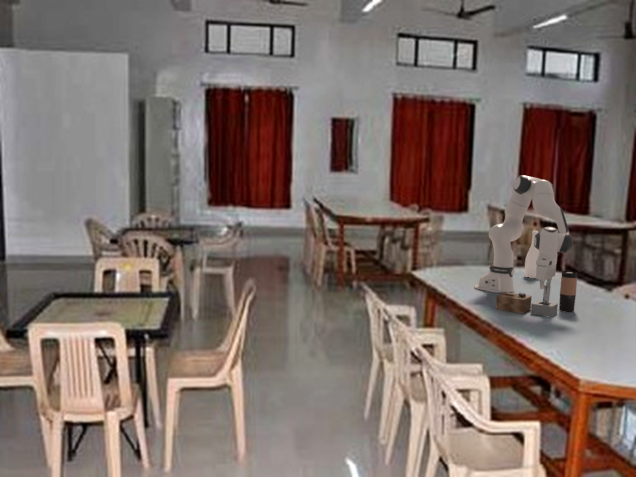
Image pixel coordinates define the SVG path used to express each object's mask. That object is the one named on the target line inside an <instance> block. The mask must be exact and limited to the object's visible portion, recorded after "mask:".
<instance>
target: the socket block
mask: <svg viewBox="0 0 636 477" xmlns="http://www.w3.org/2000/svg"><path fill="white" fill-rule="evenodd" d="M518 294H519V293H514V292H501V293H499V294H497V295H496V302H495V310H498V311H505V312H511V313H518V314H525V313H527V312H529V311H531V305H532V295H527V294H526V296H525V297H524V298H520V296H518Z"/></svg>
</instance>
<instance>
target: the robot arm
mask: <svg viewBox="0 0 636 477" xmlns="http://www.w3.org/2000/svg"><path fill="white" fill-rule="evenodd" d="M554 193H555V186H554V184H553V183H552V182H550V181H549V180H546V179H541V178H538V177H535V176H534V177H533V176H528V175H523V174H521V175H518V176H517V177H516V178H515V179H514V181H513V192H512V194H511V195H510V198H509V201H508V202H507V205H506V207H505V210H504V214H505V216H504V221H503V222H502V223H497V224H495V225H493V226H491V227H490V229H489V231H488V238H489V240H491V242H492V243H491V244H492V248H493V264H492V265H490V266H489V267H488V269H489V271H488V272H486V273H485V274H483V275H482V276H481V277H480V278H479V280H478V284H475V285H474V289H476V290H481V291H486V292H491V293H499V294H500V293H504V292H508V293H514V292H515V288H514V278H513V277H514V272H515V267H514V259H515V252H514V251H513V249H512V245H511V242H514V241H517V240H518V239H520V238H521V237H522V234H523V229H522V227H523V226H522V225H523V221H524V217H525V215H526V214H527V211H528V209H529V207H530V205H531V202H532V208H533V210H534V211H535V213H537V214H538V215H540V216H542V217H545V218H549V219H551V221H554V222H555V223H556V225H557V228H556V227H553V226H546V227H542V229H541V232H540V231H538V233H537V234H536V235H535V240H534V246H535V248H536V249H538V250H539V256H538V259H537V260H536V265H537V267H536V278H535V279H536V281H538V282H539V289H540V290H544V287H545V285H548V286H551V283H552V280H553V278H554V277H555V276H556V274H557V273H556V270H557V262H558V253H562V254H566V253H568V252H569V251H571V250H572V249H573V246H574V245H573V244H574V243H573V242H574V241H573V237H572V235H571V232H570V230H569V227H568V223H567V220H566V217H565V213H564V211H563V209H562V207H560V206H559V205H558V203H556V200H555V194H554ZM545 281H546V282H545Z"/></svg>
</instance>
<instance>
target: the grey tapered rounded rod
mask: <svg viewBox="0 0 636 477" xmlns="http://www.w3.org/2000/svg"><path fill="white" fill-rule="evenodd" d="M544 285H545V287H544V289H543V293H542V294H543V295H542V296H543V297H542V301H543V303H542V304H544V305H549V302H550V295H551V285H550V286H548V285H546V284H544Z"/></svg>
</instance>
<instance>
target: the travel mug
mask: <svg viewBox="0 0 636 477" xmlns="http://www.w3.org/2000/svg"><path fill="white" fill-rule="evenodd" d="M560 280H561V281H560V291H559V304H558V305H559V306H558V308H559V309H558V310H559V311H561V312H564V313H573V312H574V311H575V305H576V297H577V295H576V294H577V283H578V282H577V281H578V272H577V271H574V270H573V271H572V270H562V271H561V276H560Z"/></svg>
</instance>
